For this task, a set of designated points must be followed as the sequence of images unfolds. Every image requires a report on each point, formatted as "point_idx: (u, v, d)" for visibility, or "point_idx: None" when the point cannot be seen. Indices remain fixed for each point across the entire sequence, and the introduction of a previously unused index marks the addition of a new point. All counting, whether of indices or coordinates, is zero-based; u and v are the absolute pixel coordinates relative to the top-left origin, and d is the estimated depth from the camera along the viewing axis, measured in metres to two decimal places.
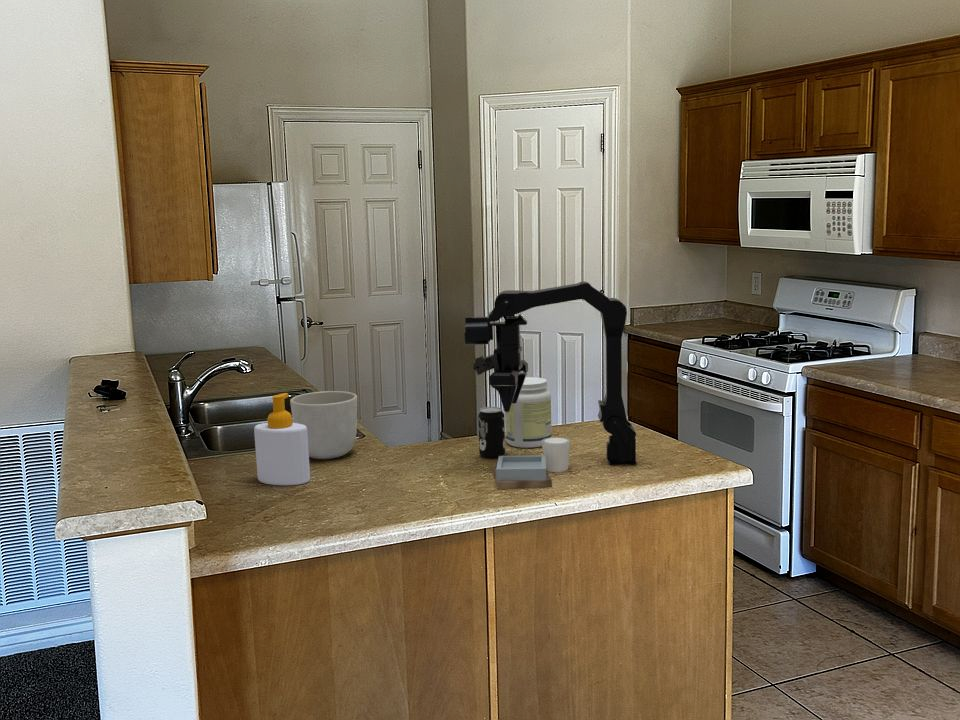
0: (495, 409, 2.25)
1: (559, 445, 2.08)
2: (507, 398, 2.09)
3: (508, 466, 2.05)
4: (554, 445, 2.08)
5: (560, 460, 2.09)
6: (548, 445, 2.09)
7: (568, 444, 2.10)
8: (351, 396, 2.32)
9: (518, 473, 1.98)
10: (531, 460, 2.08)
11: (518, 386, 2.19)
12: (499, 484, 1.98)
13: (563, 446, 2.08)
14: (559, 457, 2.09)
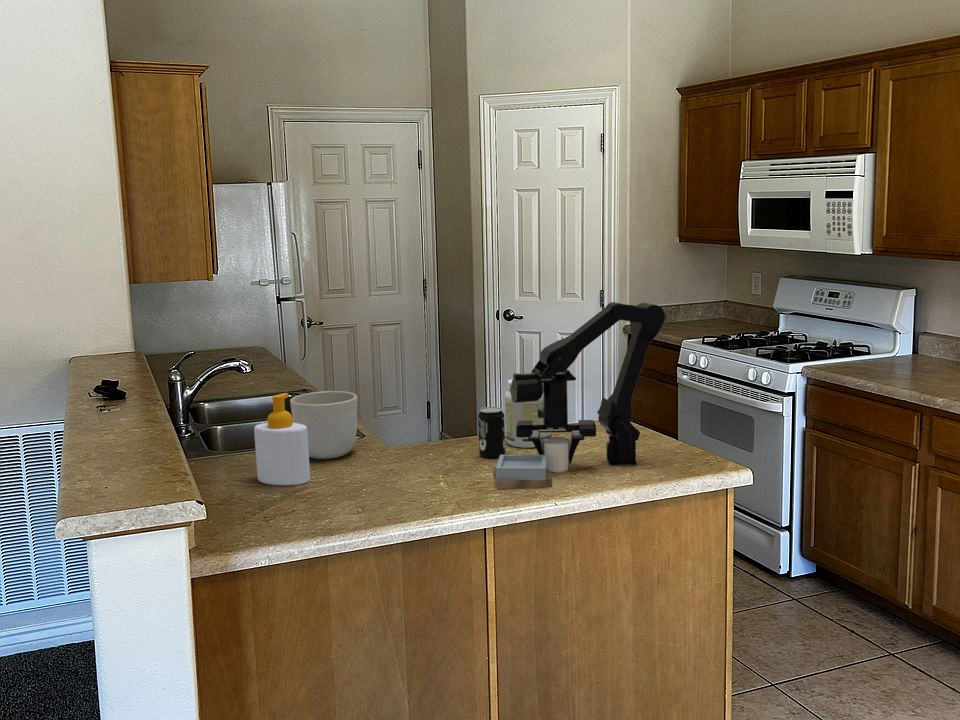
0: (495, 409, 2.25)
1: (559, 445, 2.08)
2: None
3: (509, 465, 2.05)
4: (554, 445, 2.08)
5: (560, 460, 2.09)
6: (548, 445, 2.09)
7: (568, 444, 2.10)
8: (351, 396, 2.32)
9: (518, 472, 1.98)
10: (532, 459, 2.08)
11: (570, 447, 2.10)
12: (499, 483, 1.98)
13: (563, 446, 2.08)
14: (559, 457, 2.09)
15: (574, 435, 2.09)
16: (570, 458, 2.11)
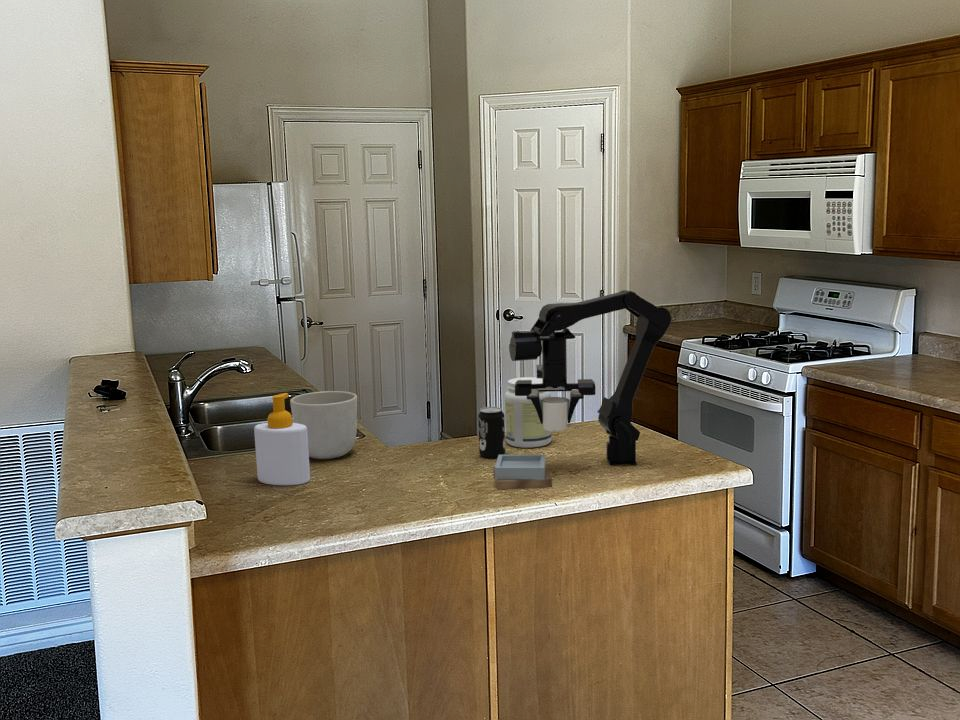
0: (495, 409, 2.25)
1: (558, 404, 2.06)
2: None
3: (507, 465, 2.05)
4: (553, 404, 2.07)
5: (559, 419, 2.08)
6: (547, 404, 2.07)
7: (567, 403, 2.08)
8: (351, 396, 2.32)
9: (517, 472, 1.98)
10: (531, 459, 2.08)
11: (569, 406, 2.09)
12: (499, 483, 1.98)
13: (562, 405, 2.07)
14: (558, 416, 2.07)
15: (573, 394, 2.08)
16: (569, 417, 2.09)
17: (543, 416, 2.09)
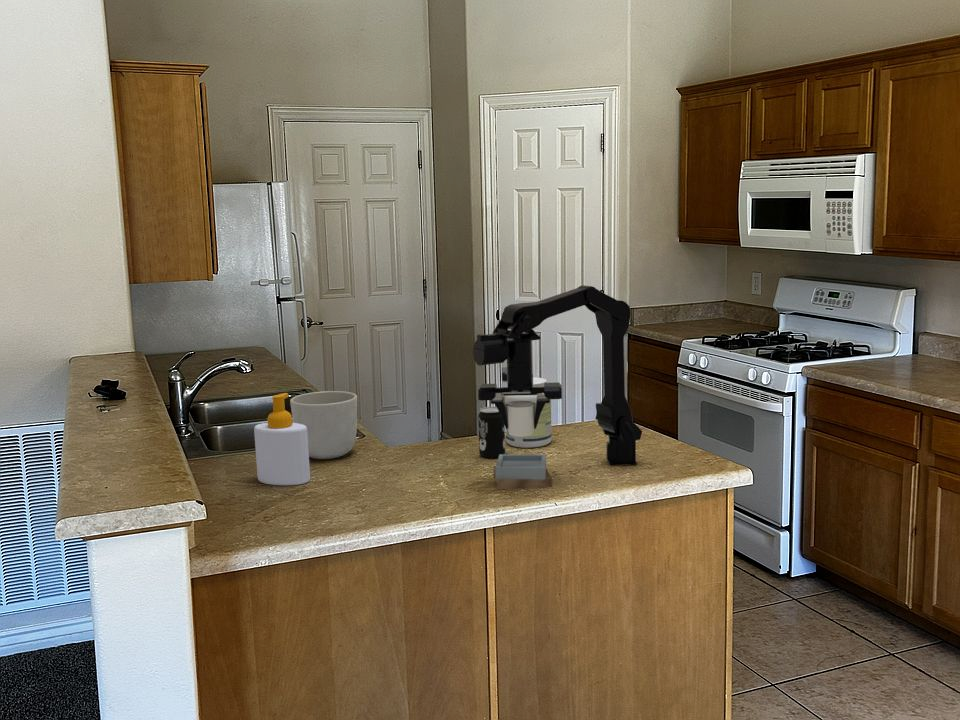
0: (495, 409, 2.25)
1: (523, 408, 1.98)
2: None
3: (508, 465, 2.05)
4: (518, 408, 1.98)
5: (524, 424, 1.99)
6: (512, 408, 1.99)
7: (533, 407, 2.00)
8: (351, 396, 2.32)
9: (517, 472, 1.98)
10: (531, 459, 2.08)
11: (535, 411, 2.00)
12: (499, 483, 1.98)
13: (527, 409, 1.98)
14: (523, 421, 1.99)
15: (539, 398, 1.99)
16: (535, 422, 2.01)
17: (508, 421, 2.01)
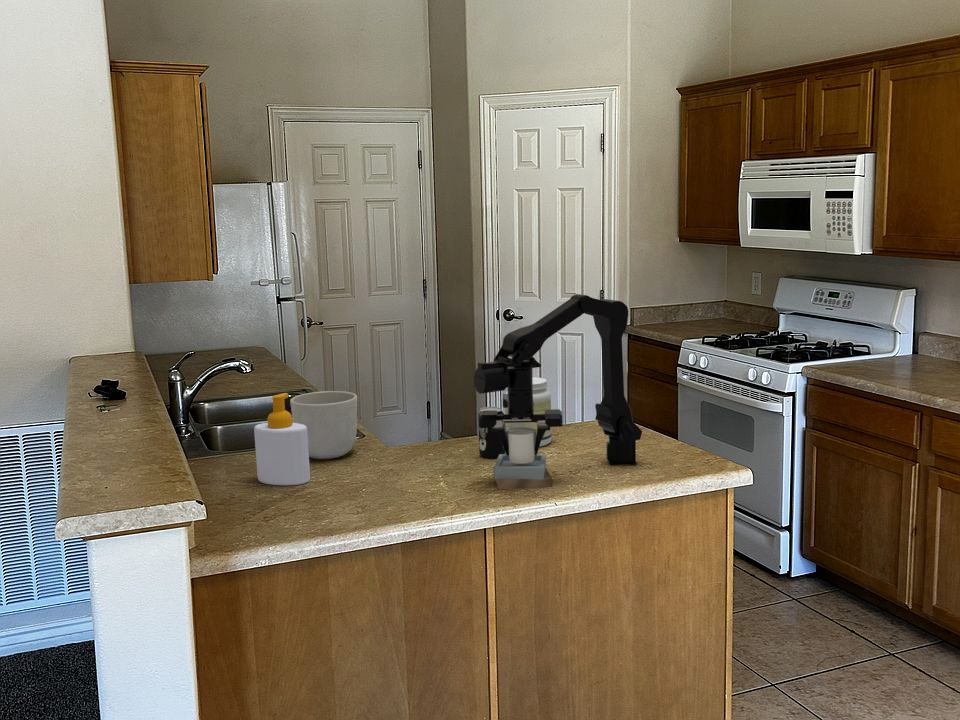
0: (495, 409, 2.25)
1: (524, 435, 1.99)
2: None
3: (507, 464, 2.05)
4: (519, 435, 1.99)
5: (525, 451, 2.00)
6: (512, 435, 2.00)
7: (534, 434, 2.01)
8: (351, 396, 2.32)
9: (516, 471, 1.99)
10: None
11: (536, 438, 2.01)
12: (499, 483, 1.98)
13: (528, 436, 2.00)
14: (524, 448, 2.00)
15: (540, 425, 2.00)
16: (536, 449, 2.02)
17: (509, 448, 2.02)
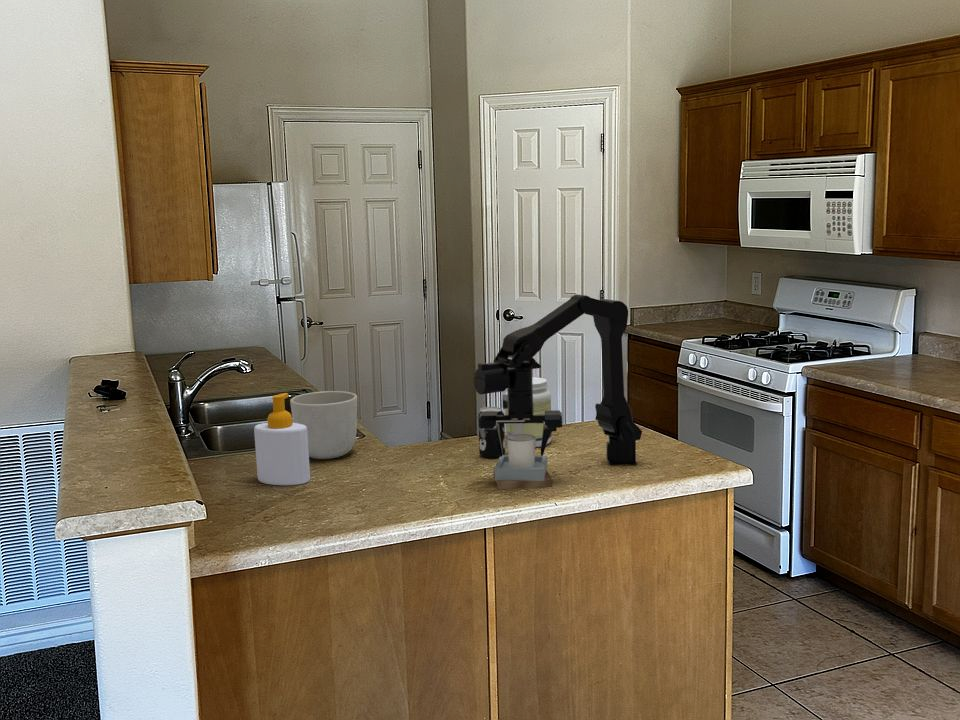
0: (495, 409, 2.25)
1: (524, 442, 1.99)
2: None
3: (508, 466, 2.05)
4: (519, 442, 2.00)
5: (525, 458, 2.00)
6: (513, 442, 2.00)
7: (534, 441, 2.01)
8: (351, 396, 2.32)
9: (516, 473, 1.99)
10: None
11: (542, 439, 2.01)
12: (499, 484, 1.98)
13: (528, 443, 2.00)
14: (524, 455, 2.00)
15: (546, 426, 2.00)
16: (542, 450, 2.02)
17: (509, 455, 2.02)
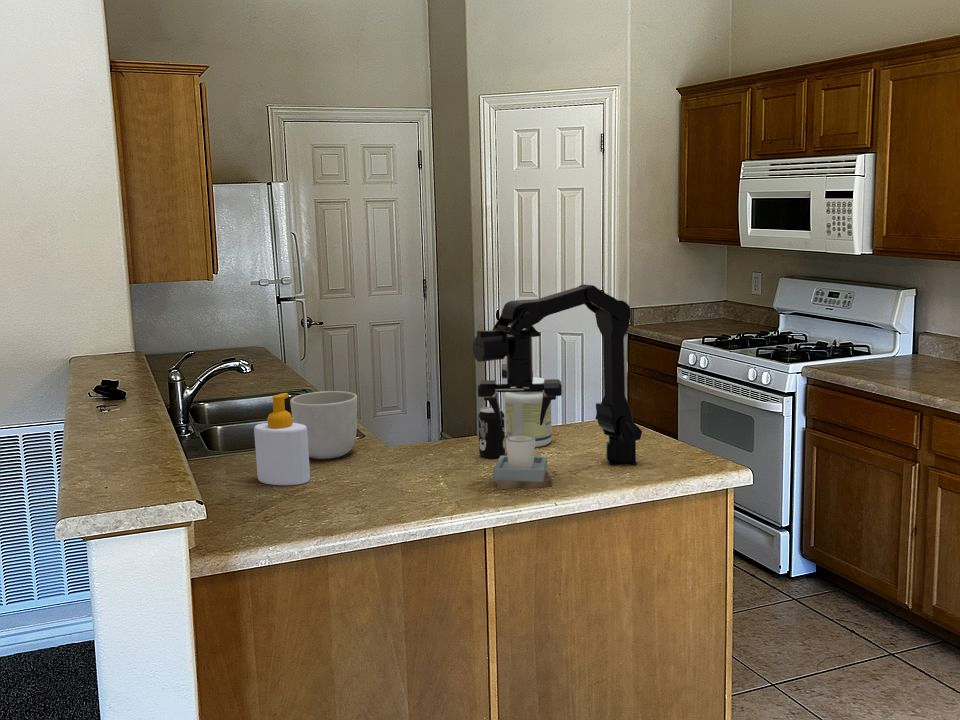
0: None
1: (524, 443, 1.99)
2: None
3: (508, 466, 2.05)
4: (519, 443, 1.99)
5: (525, 458, 2.01)
6: (512, 443, 2.00)
7: (533, 442, 2.01)
8: (351, 396, 2.32)
9: (515, 473, 1.98)
10: None
11: (541, 408, 2.00)
12: (499, 484, 1.98)
13: (528, 444, 2.00)
14: (524, 455, 2.00)
15: (545, 395, 1.99)
16: (541, 419, 2.00)
17: (508, 455, 2.02)
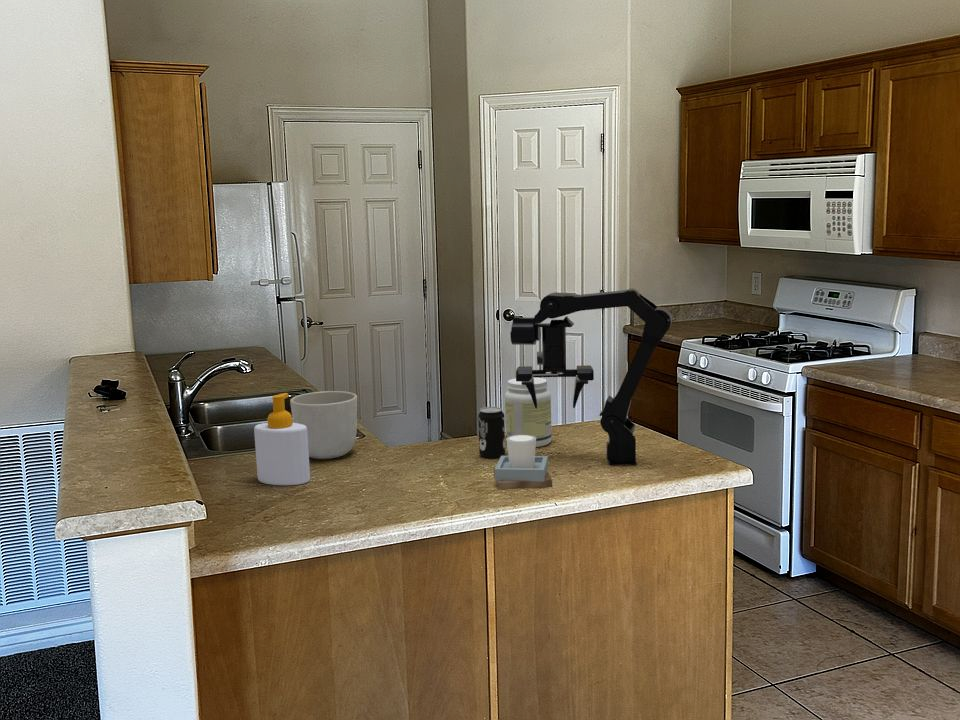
0: (495, 409, 2.25)
1: (525, 443, 2.00)
2: None
3: (509, 466, 2.05)
4: (520, 443, 2.00)
5: (526, 458, 2.01)
6: (513, 443, 2.00)
7: (534, 442, 2.01)
8: (351, 396, 2.32)
9: (516, 473, 1.99)
10: None
11: (574, 391, 2.16)
12: (499, 484, 1.98)
13: (529, 444, 2.00)
14: (525, 455, 2.00)
15: (578, 379, 2.15)
16: (574, 402, 2.17)
17: (509, 455, 2.02)
